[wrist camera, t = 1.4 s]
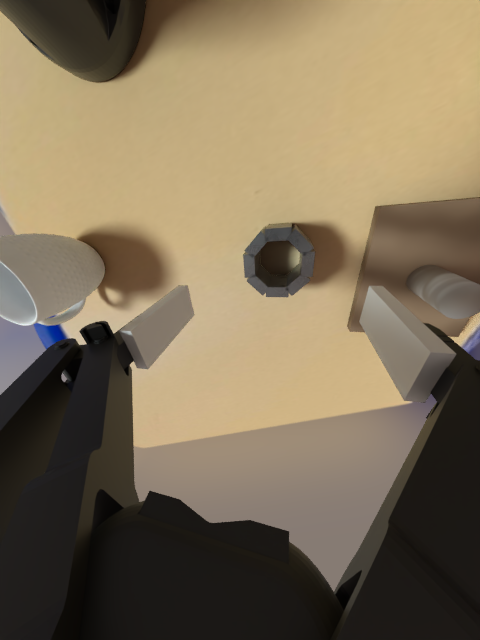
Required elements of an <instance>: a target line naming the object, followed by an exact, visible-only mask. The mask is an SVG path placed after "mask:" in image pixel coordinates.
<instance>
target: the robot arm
mask: <svg viewBox="0 0 480 640" xmlns="http://www.w3.org/2000/svg"><path fill="white" fill-rule="evenodd" d="M145 2H146V0H0V11H1V12H2V13H3V14H4V15H5V16H6V17H7V18H8V19H9V20H10V21H11V22H13V23H14V24H15V25H16V27H17V28H18V29H19V30H20V31H21V33H22V34H23V35H24V36H25V37H26V38H27V39H28V40H29V41H30V42H31V43H32V45H33V46H34V47H35V48H37V49H38V50H39V51H40V52H41V53H42V54H43V55H44V56H46V57H47V58H48V59H49V60H51V61H52V62H54V63H55V64H57V65H58V66H60V67H62V68H63V69H65V70H67V71H68V72H70V73H72V74H73V75H75V76H77V77H79V78H81V79H84V80H87V81H92V82H101V81H106V80H109V79H111V78H113V77H114V76H116V75H117V74H118V73H120V72H121V71H122V70H123V68H124V67H125V66H126V65H127V63H128V62H129V60H130V58H131V57H132V55H133V52H134V50H135V48H136V45H137V43H138V39H139V36H140V32H141V28H142V24H143V18H144V11H145ZM193 316H194V311H193V307H192V303H191V298H190V294H189V290H188V286H187V285H179V286H178V287H176V288H175V289H174V290H172V291H171V292H170V293H168V294H167V295H166V296H164V297H163V298H162V299H160V300H159V301H158V302H156V303H155V304H154V305H152V306H151V307H150V308H148V309H147V310H146V311H144V312H143V313H142V314H140V315H139V316H137V317H136V318H135V319H133V320H132V321H130V322H129V323H128V324H126V325H125V326H124V327H122V328H121V329H120V330H118V331H117V332H116V333H114V334H113V332H112V330H111V328H110V326H109V324H108V322H106V321H100V322H95V323H92V324H89V325H87V326H85V327H84V328H82V329H81V330H80V331H79V332H80V333H81V335H82V337H83V338H84V340H85V341H86V343H87V344H86V345H79V344H78V342H77V341H76V339H73V338H71V339H65V340H61V341H58V342H56V343H55V344H53V345H52V346H50V347H49V348H48V349H47V350H46V351H45V352H44V353H43V354H42V355H41V356H40V357H39V358H38V359H37V360H36V361H35V362H34V363H33V364H32V365H31V366H30V367H29V368H28V369H27V370H26V371H25V372H23V373H22V374H21V376H19V378H17V379H16V380H15V381H14V382H13V383H12V384H11V385H10V386H9V387H8V388H7V389H6V390H5V391H4V392H3V393H2V394H1V395H0V640H480V361H478V360H475V359H474V358H473V357H472V356H471V355H470V354H468V353H467V352H466V351H465V350H464V349H463V348H461V347H460V346H459V345H458V344H457V343H454V341H453V340H452V339H451V338H450V337H448V336H447V335H446V334H445V333H444V332H443V331H441V330H440V329H439V328H437V327H435V326H433V325H431V324H429V323H422V322H421V321H420V320H419V319H418V318H417V317H416V316H415V315H414V314H413V313H411V312H410V311H409V310H408V309H407V308H406V307H405V306H404V305H403V304H402V303H401V302H399V301H398V300H397V299H396V298H395V297H394V296H393V295H392V294H391V293H390V292H389V291H388V290H386V289H385V288H384V287H383V286H369V288H368V292H367V296H366V299H365V303H364V306H363V310H362V314H361V317H360V321H359V322H360V324H361V326H362V327H363V329H364V331H365V333H366V334H367V336H368V338H369V340H370V342H371V343H372V345H373V347H374V349H375V350H376V352H377V354H378V356H379V357H380V359H381V361H382V363H383V364H384V366H385V368H386V370H387V371H388V373H389V375H390V377H391V378H392V380H393V382H394V384H395V385H396V387H397V389H398V391H399V392H400V394H401V396H402V398H403V399H404V400H405V401H413V402H421V403H425V402H426V400H427V399H428V397H429V396H430V394H432V395H433V397H434V398H435V399H436V401H437V403H436V404H435V406H434V407H433V409H432V410H431V411H430V413H429V414H428V416H427V417H426V418H427V420H426V422H425V424H424V426H423V428H422V430H421V432H420V434H419V436H418V438H417V439H416V441H415V443H414V445H413V447H412V449H411V451H410V453H409V455H408V457H407V458H406V460H405V462H404V464H403V466H402V468H401V470H400V472H399V474H398V476H397V477H396V479H395V481H394V483H393V485H392V487H391V489H390V491H389V493H388V494H387V496H386V498H385V500H384V502H383V504H382V506H381V508H380V510H379V512H378V514H377V516H376V517H375V519H374V521H373V523H372V525H371V527H370V529H369V531H368V533H367V535H366V537H365V538H364V540H363V542H362V544H361V546H360V548H359V550H358V551H357V553H356V555H355V556H354V558H353V559H352V561H351V562H350V564H349V566H348V567H347V569H346V571H345V573H344V574H343V576H342V578H341V580H340V582H339V584H338V585H337V587H336V589H335V591H334V592H333V590H332V589H331V587H330V585H329V584H328V582H327V581H326V579H325V578H324V576H323V575H322V574H321V572H320V571H319V570H318V568H317V567H316V566H315V565H314V564H313V562H312V561H311V560H310V559H309V558H308V557H307V556H306V555H305V554H304V553H303V552H302V551H301V550H300V549H298V548H297V547H296V546H294V545H293V544H292V543H290V542H289V531H285V530H282V529H278V528H275V527H271V526H268V525H265V524H261V523H258V522H254V521H251V520H246V521H234V522H222V523H209V522H207V521H206V520H204V519H203V518H202V517H201V516H200V515H198V514H197V513H196V512H195V511H193V510H192V509H191V508H190V507H188V506H187V505H186V504H184V503H183V502H182V501H181V500H179V499H176V498H172V497H169V496H166V495H162V494H159V493H156V492H152V491H149V493H148V496H147V498H146V500H145V501H142V502H139V499H138V496H137V493H136V490H135V485H134V453H133V408H132V369H131V367H130V364H131V363H132V362H133V361H134V362H135V364H136V367H137V368H141V369H149V368H150V366H151V365H152V364H153V363H154V362H155V361H156V359H157V358H158V357H159V356H160V355H161V353H162V352H163V351H164V350H165V349H166V348H167V346H168V345H169V344H170V343H171V342H172V341H173V339H174V338H175V337H176V336H177V335H178V334H179V332H180V331H181V330H182V329H183V328H184V326H185V325H186V324H187V323H188V322H189V321H190V319H191V318H192V317H193ZM62 373H63V374H64V375H65V377H66V378H67V380H66V382H63V381H62V379H61V375H62Z"/></svg>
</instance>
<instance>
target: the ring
mask: <svg viewBox="0 0 480 640" xmlns="http://www.w3.org/2000/svg"><path fill="white" fill-rule="evenodd" d="M286 240H288V241H289V242H290V243H291V244H292V245H293V246H294V247H295V248H296V249H297V250H298V251H299V252H300V261H299V264H298V265H297V266H296V267H295V268H294V269H293V270H292V271H290V272H289V273H288V274H287V275H271V274H270V273H269V272H268V271H267V270H266V269H265V268H264V267H263V266H262V265H261V264H260V250H261V248H262V247H263V246H264V245H265V244H266V243H267V242H268V241H286ZM243 258H244V271H245V278H248V279H247V282H248V283H249V284H251V285H252V286H253V287H254V288H255V289H256V290H257V291H258V292H259V293H260V294H262V295H264V294H265V293H266V297H288V294H289V293H290V294H291V295H294V294H295V293H296V292H297V291H298V290H300V289H301V288H302V287H303V286H304V285H306V284H307V283H308V282H309V281H310V277H312V276H313V267H314V258H315V250H314V247H313V245H312V243H311V241H310V239H309V238H308V237H307V236H306V235H305V234H304V233H303V232H302V231H301V230H300V229H299V228H298V227H297V226H296V225H294V226H293V227H292V223H282V224H269V225H268V226H267V227H265V228H263V229H262V230H261V231H260V233H259V234H258V235H257V236H256V237H255V239H254V240H253V241H252V242H251V243H250V245H249V246H248V247H247V248H246V249H245V253H244V254H243Z"/></svg>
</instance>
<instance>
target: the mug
mask: <svg viewBox="0 0 480 640" xmlns="http://www.w3.org/2000/svg"><path fill="white" fill-rule="evenodd" d="M104 274H105V266H104V263H103V260H102V258H101V257H100V255H99V254H98V253H97V252H96V251H95V250H94V249H93V248H92V247H91V246H89V245H88V244H86V243H84V242H82V241H79V240H76V239H74V238H70V237H65V236H58V235H51V234H49V235H48V234H35V233H34V234H20V235H8V236H0V316H1V317H3V318H4V319H6V320H8V321H10V322H13V323H16V324H19V325H32V324H35V323H40V324H43V325H57V324H61V323H63V322H66V321H68V320H70V319H72V318H73V317H75V316H76V315H77V314H78V313H79V312H80V311H81V310H82V308H83V307H84V304H85V300H86V297H87V296H89V295H90V294H91V293H92V292H93V291H94V290H95V289H96V288H97V287H98V286H99V285H100V283H101V282H102V280H103V278H104ZM71 306H72V307H71ZM70 307H71V308H70ZM67 308H70V309H69V310H67V311H66V312H64V313H63V314H61V315H58V316H56V317H52V318H49V317H51V316H53V315H55V314H57V313H59V312H62V311H64V310H66V309H67ZM46 318H47V319H46Z"/></svg>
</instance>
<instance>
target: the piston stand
mask: <svg viewBox="0 0 480 640" xmlns="http://www.w3.org/2000/svg"><path fill="white" fill-rule="evenodd" d="M369 286H383V287H384V288H385V289H386V290H388V291H389V292H390V293H391V294H392V295H393V296H394V297H395V298H396V299H397V300H398V301H399V302H401V303H402V304H403V305H404V306H405V307H406V308H407V309H408V310H409V311H410V312H411V313H413V314H414V315H415V316H416V317H417V318H418V319H419V320H420V321H421V322H422V323H429V324H431V325H433V326H435V327H437V328H439V329H440V330H441V331H443V332H444V333H445V334H446V335H447V336H451V337H458V336H459V335H460V333H461V331H462V330H463V328H464V326H465V325H466V323H467V321H468V320H469V318H470V317H471V316H473V315H475V314H477V313H479V312H480V197H479V198H467V199H456V200H444V201H433V202H421V203H410V204H398V205H387V206H376V207H375V211H374V215H373V219H372V223H371V228H370V232H369V236H368V240H367V245H366V249H365V253H364V257H363V262H362V266H361V270H360V274H359V278H358V283H357V287H356V291H355V295H354V300H353V304H352V308H351V312H350V317H349V321H348V325H347V327H348V329H349V331H350V332H365V331H364V329H363V327H362V326H361V324H360V322H359V321H360V317H361V314H362V310H363V306H364V303H365V299H366V296H367V292H368V288H369Z"/></svg>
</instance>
